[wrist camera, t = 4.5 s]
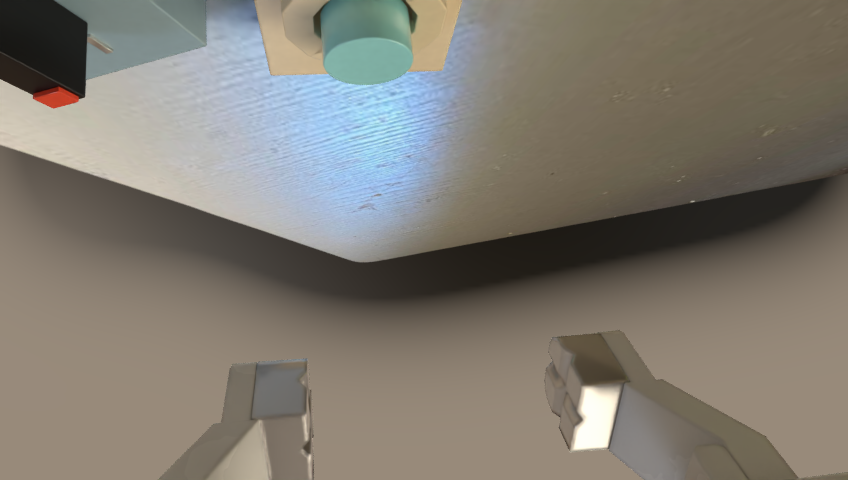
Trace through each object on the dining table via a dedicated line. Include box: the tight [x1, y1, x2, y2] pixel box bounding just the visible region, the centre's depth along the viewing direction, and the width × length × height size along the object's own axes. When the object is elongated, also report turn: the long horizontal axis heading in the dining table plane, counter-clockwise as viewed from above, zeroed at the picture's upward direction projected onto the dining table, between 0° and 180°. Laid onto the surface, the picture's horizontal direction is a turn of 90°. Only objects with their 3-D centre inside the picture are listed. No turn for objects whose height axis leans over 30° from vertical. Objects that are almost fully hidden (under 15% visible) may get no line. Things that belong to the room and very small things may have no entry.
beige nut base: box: [254, 0, 462, 75], centre depth 29 cm, size 11×9×5 cm
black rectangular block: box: [0, 0, 88, 108], centre depth 25 cm, size 6×2×4 cm, turn 17°
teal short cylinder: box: [320, 0, 413, 85], centre depth 26 cm, size 4×4×2 cm
